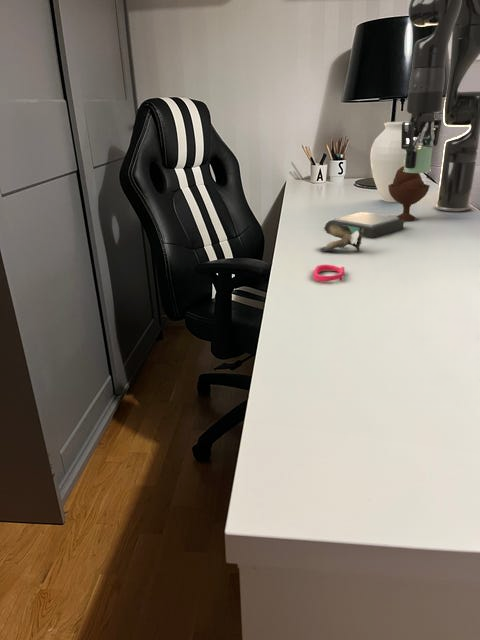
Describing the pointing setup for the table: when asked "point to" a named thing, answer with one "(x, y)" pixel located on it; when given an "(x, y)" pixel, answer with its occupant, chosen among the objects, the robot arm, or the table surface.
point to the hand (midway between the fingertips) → (417, 166)
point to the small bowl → (421, 160)
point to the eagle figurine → (342, 236)
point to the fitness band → (328, 278)
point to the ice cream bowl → (407, 191)
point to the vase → (387, 158)
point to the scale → (371, 224)
